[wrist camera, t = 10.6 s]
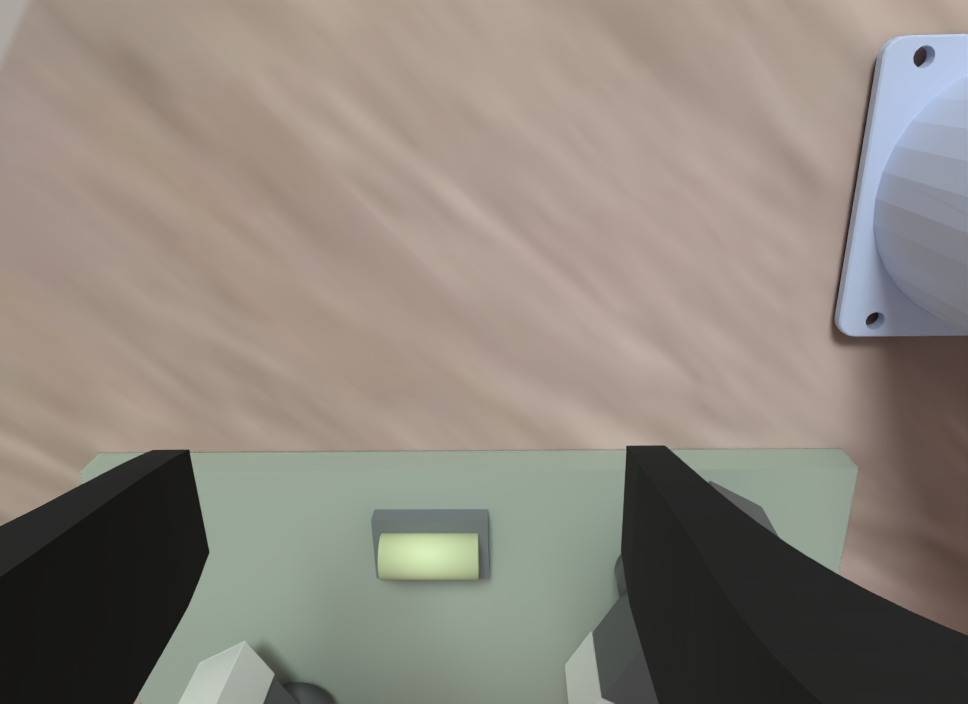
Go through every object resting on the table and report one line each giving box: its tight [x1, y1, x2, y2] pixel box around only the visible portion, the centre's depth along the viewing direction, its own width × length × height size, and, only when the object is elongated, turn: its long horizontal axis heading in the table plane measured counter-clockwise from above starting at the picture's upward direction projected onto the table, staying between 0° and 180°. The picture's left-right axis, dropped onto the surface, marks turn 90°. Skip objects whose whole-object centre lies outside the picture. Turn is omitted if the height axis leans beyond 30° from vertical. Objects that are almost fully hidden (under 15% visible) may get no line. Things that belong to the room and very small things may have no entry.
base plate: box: [80, 449, 859, 704], centre depth 25 cm, size 24×14×3 cm, turn 91°
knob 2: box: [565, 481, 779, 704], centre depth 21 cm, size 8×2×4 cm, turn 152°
